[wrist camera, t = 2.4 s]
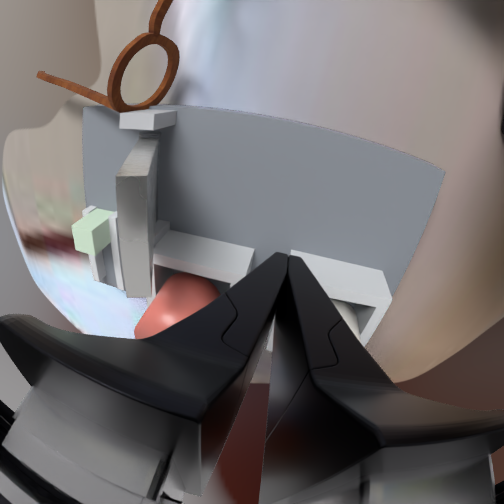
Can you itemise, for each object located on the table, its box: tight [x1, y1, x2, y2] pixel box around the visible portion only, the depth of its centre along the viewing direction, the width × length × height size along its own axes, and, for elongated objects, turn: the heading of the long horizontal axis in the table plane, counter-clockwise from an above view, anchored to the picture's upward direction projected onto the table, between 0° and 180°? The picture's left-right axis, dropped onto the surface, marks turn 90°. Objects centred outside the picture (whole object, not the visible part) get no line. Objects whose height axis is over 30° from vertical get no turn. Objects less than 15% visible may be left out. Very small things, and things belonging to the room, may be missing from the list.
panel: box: [82, 104, 445, 351], centre depth 16 cm, size 22×14×5 cm, turn 81°
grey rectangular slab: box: [116, 131, 161, 298], centre depth 12 cm, size 1×5×8 cm, turn 172°
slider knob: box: [72, 208, 114, 256], centre depth 16 cm, size 2×2×3 cm
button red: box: [134, 272, 221, 339], centre depth 15 cm, size 4×4×4 cm
